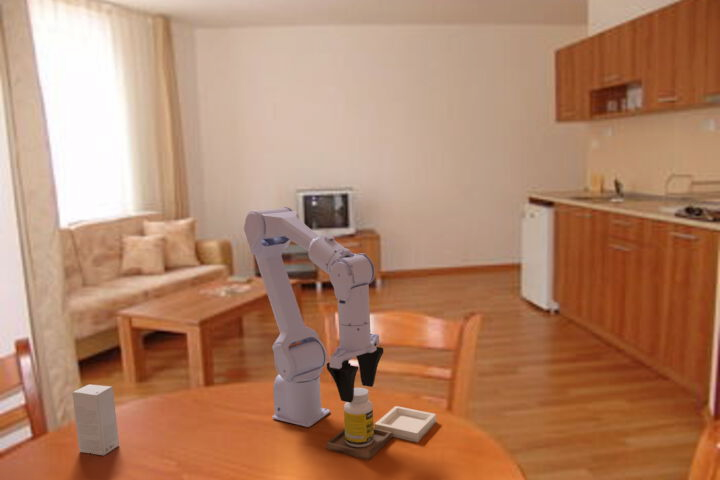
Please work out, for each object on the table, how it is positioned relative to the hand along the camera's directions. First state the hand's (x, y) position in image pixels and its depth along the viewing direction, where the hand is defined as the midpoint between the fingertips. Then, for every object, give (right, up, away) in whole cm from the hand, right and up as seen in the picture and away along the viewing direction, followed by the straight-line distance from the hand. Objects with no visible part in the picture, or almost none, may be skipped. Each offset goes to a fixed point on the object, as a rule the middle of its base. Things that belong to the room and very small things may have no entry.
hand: (357, 393), depth 104 cm
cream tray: (+10, -9, +7) cm, 15 cm away
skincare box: (-49, -12, +4) cm, 51 cm away
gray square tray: (0, -10, +1) cm, 10 cm away
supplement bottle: (0, -10, +1) cm, 10 cm away
